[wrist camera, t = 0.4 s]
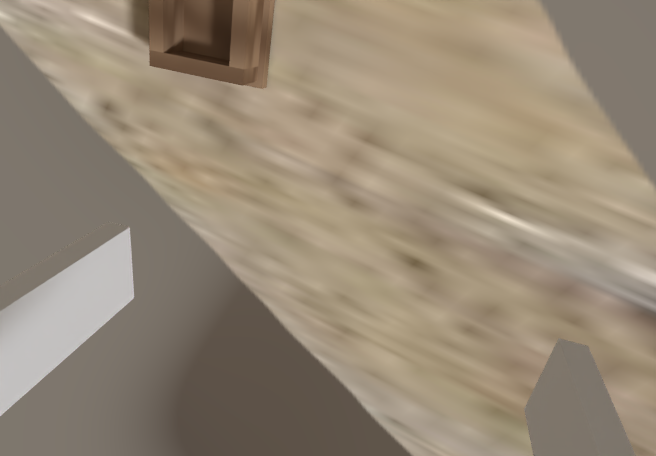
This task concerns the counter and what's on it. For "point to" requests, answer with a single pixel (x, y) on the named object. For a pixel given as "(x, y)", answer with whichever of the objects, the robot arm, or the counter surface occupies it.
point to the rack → (213, 38)
